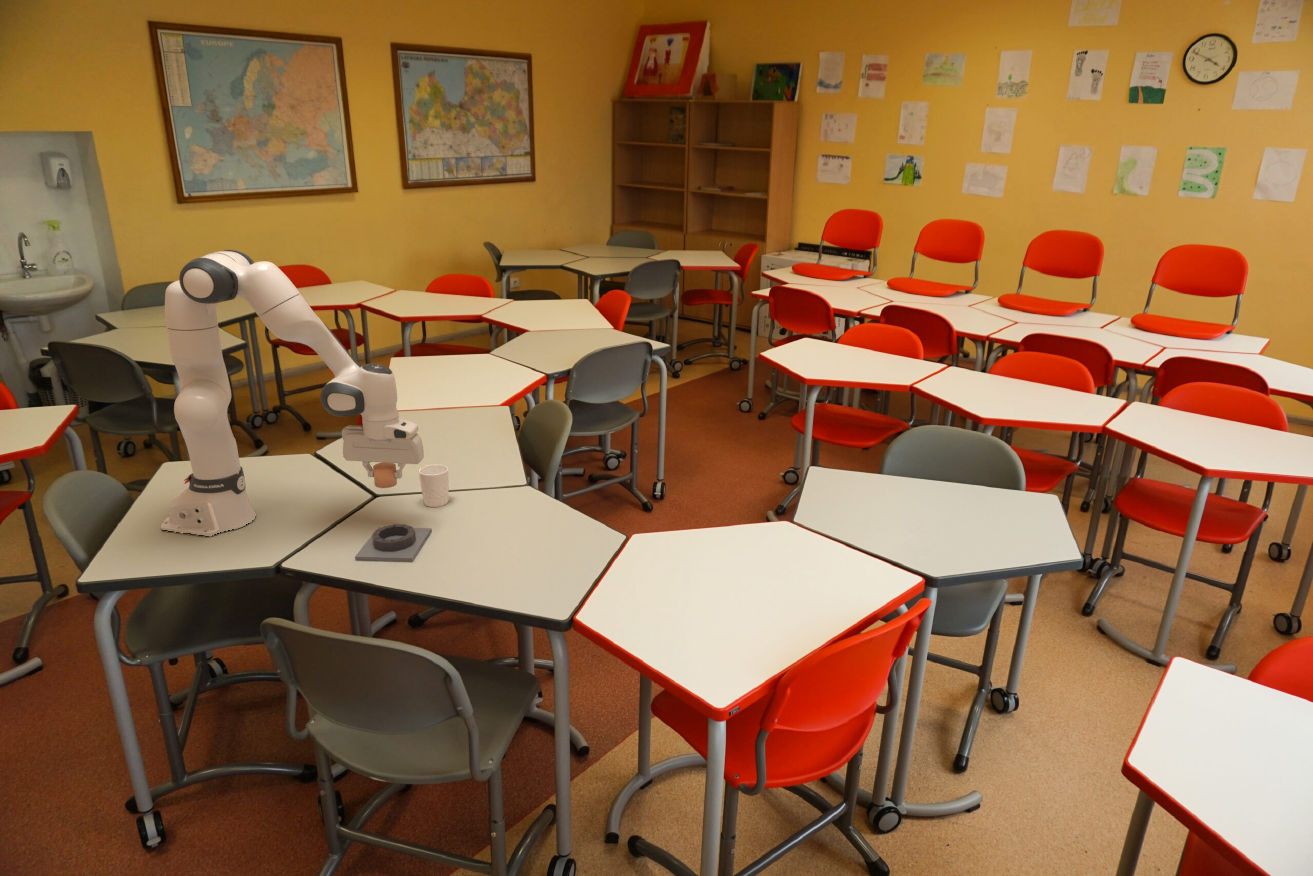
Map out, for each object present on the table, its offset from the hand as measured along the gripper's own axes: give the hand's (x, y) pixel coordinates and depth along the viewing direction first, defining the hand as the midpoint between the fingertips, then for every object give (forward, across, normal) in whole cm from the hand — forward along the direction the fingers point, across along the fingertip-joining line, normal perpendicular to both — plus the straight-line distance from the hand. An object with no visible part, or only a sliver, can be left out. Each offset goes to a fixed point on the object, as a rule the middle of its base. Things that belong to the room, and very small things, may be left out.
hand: (385, 477), depth 212 cm
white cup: (+13, +9, +13) cm, 21 cm away
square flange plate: (+13, +6, -13) cm, 19 cm away
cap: (+2, 0, 0) cm, 2 cm away
